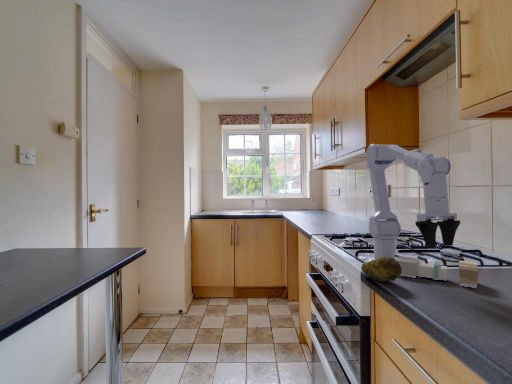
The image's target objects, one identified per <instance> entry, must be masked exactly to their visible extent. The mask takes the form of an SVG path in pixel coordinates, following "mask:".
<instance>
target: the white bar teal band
mask: <svg viewBox="0 0 512 384" xmlns="http://www.w3.org/2000/svg"><path fill="white" fill-rule="evenodd" d="M417 275H420V276H429V277H434V278H442V279H447V280H448V266H446V265H440V261H434V264H431V263H425V262H419V263H417Z"/></svg>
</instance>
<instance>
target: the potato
mask: <svg viewBox="0 0 512 384" xmlns="http://www.w3.org/2000/svg"><path fill="white" fill-rule="evenodd" d="M371 260H372V259H371ZM371 260H368V261H364V262H363V263H362V264H361V266H360V267H361V271H362V273H363V274H364V275H365V276H366V277H368V278H372V279H373V280H376V281H379V280H380V281H379V282H384V281H387V282H390V281H391V282H395V281H396V280H397V279H398V278H399V277H401V276H400V275H401V273H402V269H401V266H400V264H399V263H398V261H396V260H395V259H393V258H390V257H389V258H388V257H379V258H377V259H375V260H372V261H371Z"/></svg>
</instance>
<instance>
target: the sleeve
mask: <svg viewBox="0 0 512 384" xmlns="http://www.w3.org/2000/svg"><path fill="white" fill-rule="evenodd" d="M396 258H397V259H396V261H398V263H399V264H400V266H401V269H402V273H401V274H405V275H411V276H417V263H420V261H419V260H420V259H419V258H416V257H408V256H401V255H399V256H397V257H396Z"/></svg>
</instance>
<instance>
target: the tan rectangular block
mask: <svg viewBox="0 0 512 384" xmlns="http://www.w3.org/2000/svg"><path fill="white" fill-rule="evenodd" d="M477 263H478V262H474V261H473V262H472V261H465V260H459V265H458V269H459V270H458V272H459V274H458V284H459V283H466V284H472V285H478V284H479V283H478V281H479V280H478V279H479V277H478V273H479V272H478V271H479V267H478V264H477Z"/></svg>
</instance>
